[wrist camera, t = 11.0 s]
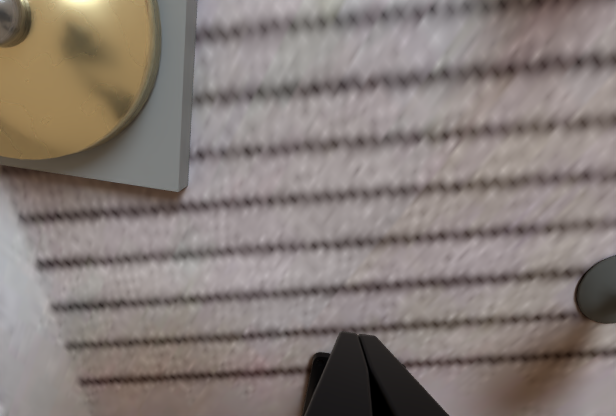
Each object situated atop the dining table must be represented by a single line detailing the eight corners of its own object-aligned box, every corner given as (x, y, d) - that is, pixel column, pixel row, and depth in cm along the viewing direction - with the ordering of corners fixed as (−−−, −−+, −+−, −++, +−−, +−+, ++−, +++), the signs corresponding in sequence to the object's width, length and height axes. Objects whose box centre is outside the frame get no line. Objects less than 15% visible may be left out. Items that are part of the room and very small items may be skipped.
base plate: (187, 185, 20) (178, 192, 19) (-70, 145, 20) (-100, 149, 19) (203, -125, 16) (192, -147, 15) (-127, -185, 16) (-171, -213, 14)
